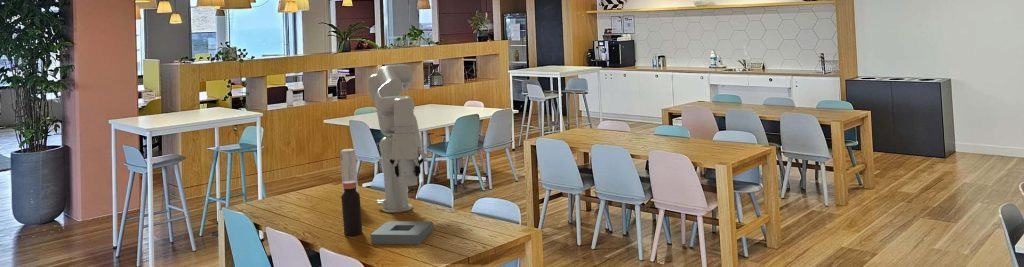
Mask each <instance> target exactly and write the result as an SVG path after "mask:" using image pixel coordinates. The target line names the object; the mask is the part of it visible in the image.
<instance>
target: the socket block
mask: <svg viewBox="0 0 1024 267" xmlns="http://www.w3.org/2000/svg"><path fill="white" fill-rule="evenodd" d="M432 232H434V221H428V220H427V221H425V220H424V221H416V220H415V221H414V220H413V221H412V220H411V221H410V220H409V221H405V220H404V221H403V220H402V221H398V220H397V221H396V220H395V221H394V220H390V221H389V220H388V221H386V222H385V223H383V224H382V225H380V226H379V227H378V228H377V229H376V230H374V231H373V232H372V233H371V234H370V244H371V245H420V244H422V242H423V241H424V240H425V239H426V238H427V237H428V236H430V235H431V234H432Z"/></svg>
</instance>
